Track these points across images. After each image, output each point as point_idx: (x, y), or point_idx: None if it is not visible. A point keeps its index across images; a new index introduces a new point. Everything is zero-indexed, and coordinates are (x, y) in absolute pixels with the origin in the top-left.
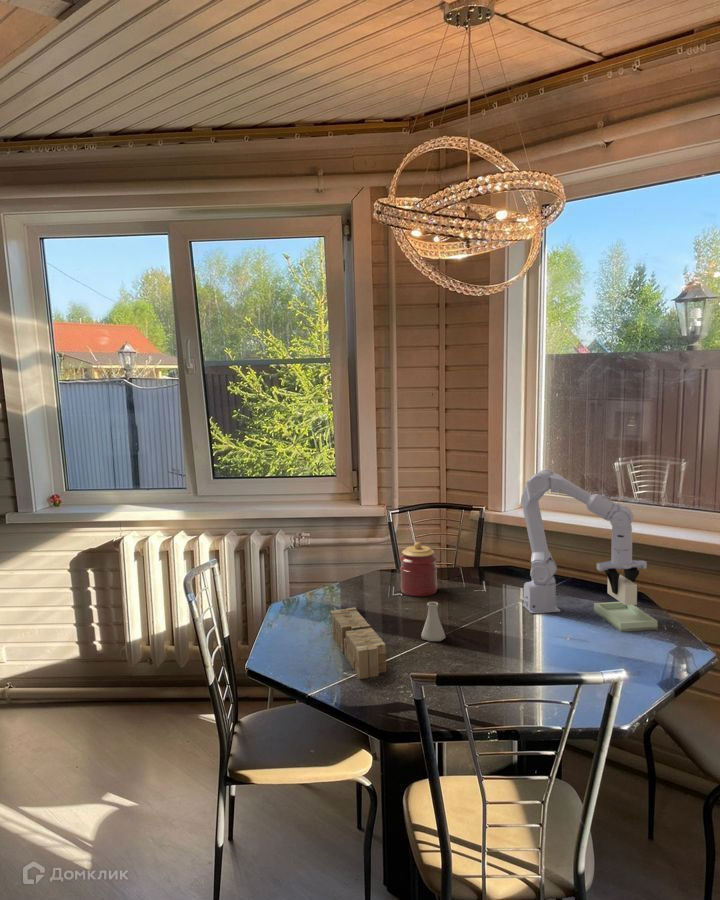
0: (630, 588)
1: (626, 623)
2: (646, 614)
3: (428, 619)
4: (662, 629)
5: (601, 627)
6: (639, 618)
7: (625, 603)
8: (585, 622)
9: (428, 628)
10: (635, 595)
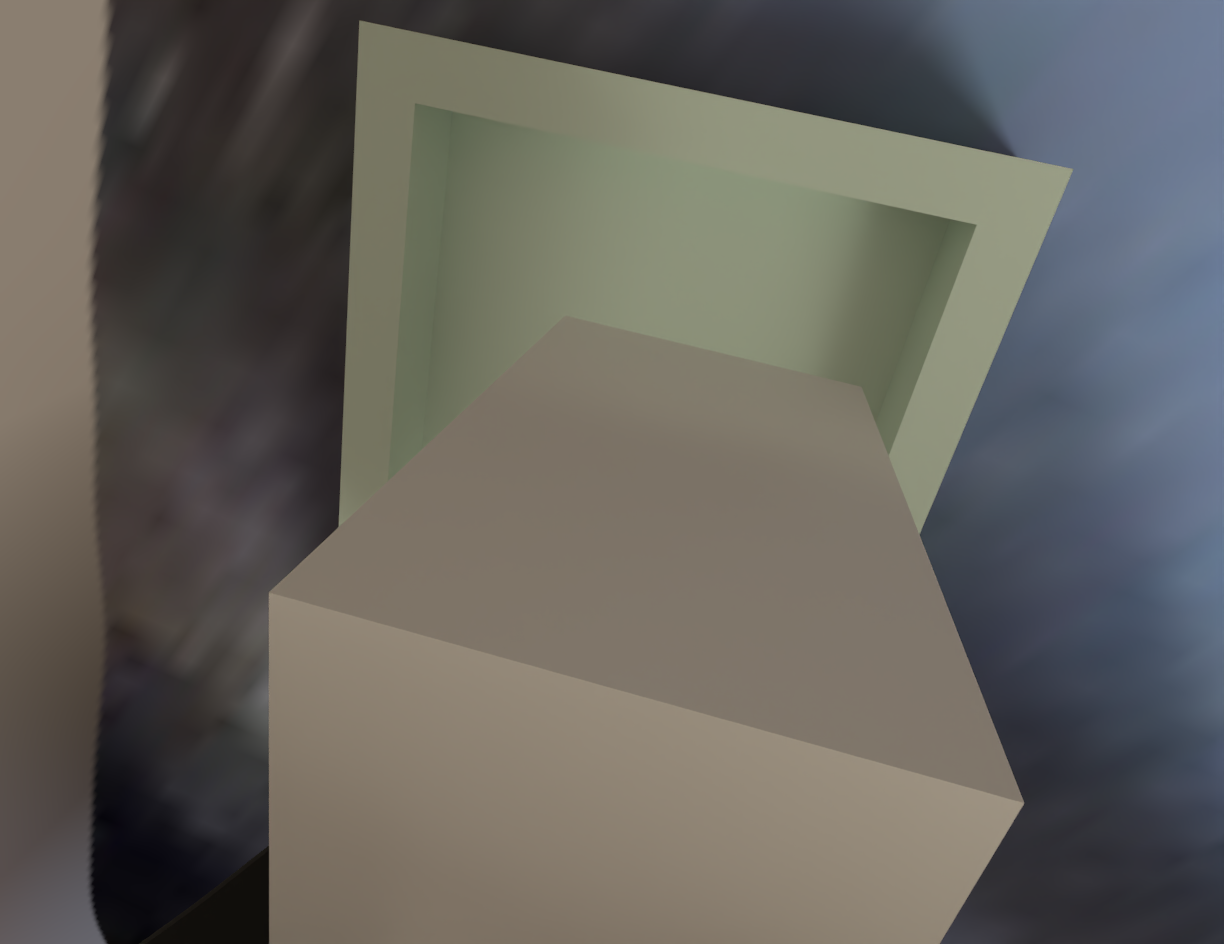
0: (686, 583)
1: (950, 145)
2: (363, 352)
3: None
4: (352, 14)
5: (1133, 422)
6: (456, 411)
7: (856, 401)
8: (1169, 642)
9: None
10: (535, 399)
